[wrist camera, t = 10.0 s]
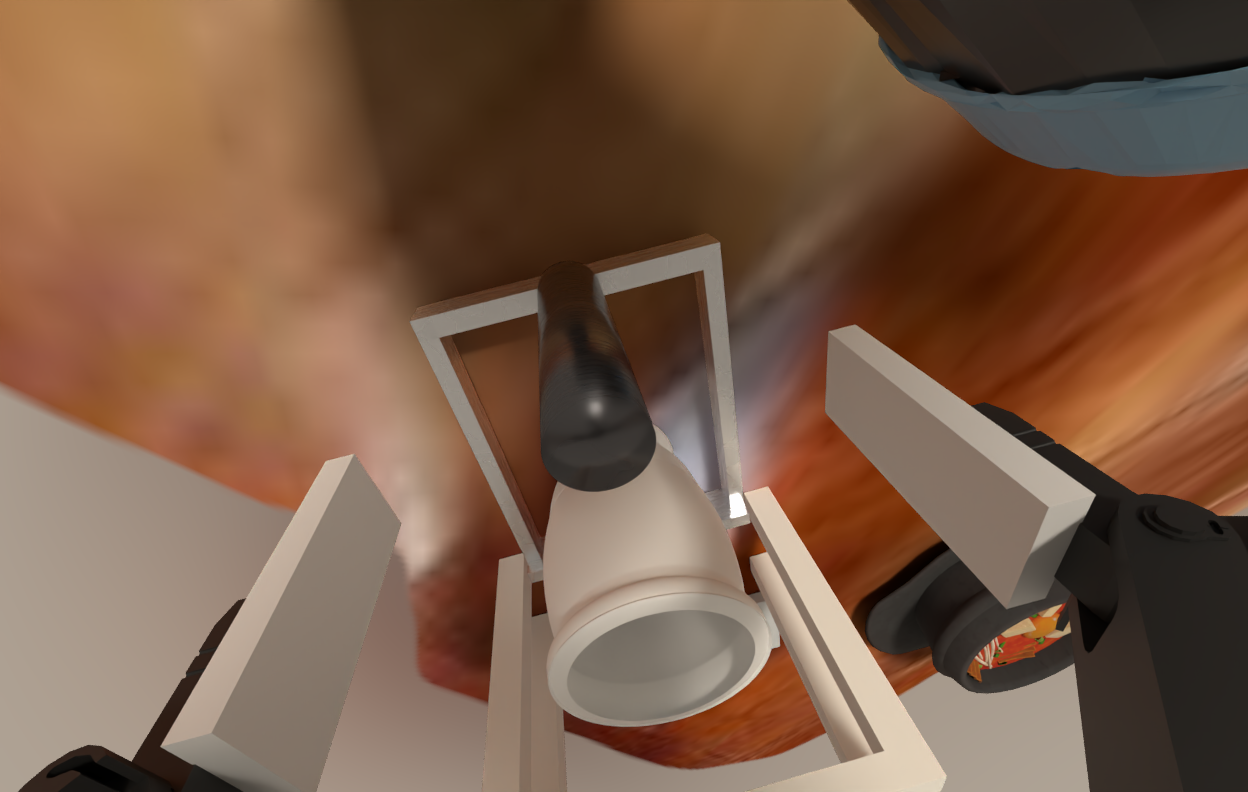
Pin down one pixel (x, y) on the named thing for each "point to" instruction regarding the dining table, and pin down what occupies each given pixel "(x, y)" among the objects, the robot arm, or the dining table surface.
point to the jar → (646, 601)
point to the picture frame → (587, 377)
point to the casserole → (972, 628)
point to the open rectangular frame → (811, 629)
